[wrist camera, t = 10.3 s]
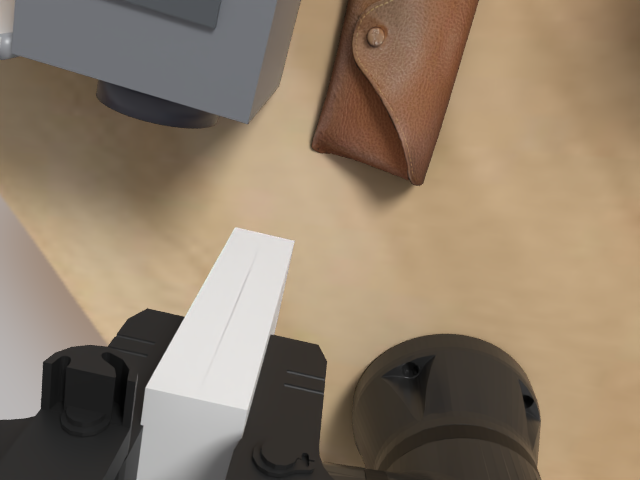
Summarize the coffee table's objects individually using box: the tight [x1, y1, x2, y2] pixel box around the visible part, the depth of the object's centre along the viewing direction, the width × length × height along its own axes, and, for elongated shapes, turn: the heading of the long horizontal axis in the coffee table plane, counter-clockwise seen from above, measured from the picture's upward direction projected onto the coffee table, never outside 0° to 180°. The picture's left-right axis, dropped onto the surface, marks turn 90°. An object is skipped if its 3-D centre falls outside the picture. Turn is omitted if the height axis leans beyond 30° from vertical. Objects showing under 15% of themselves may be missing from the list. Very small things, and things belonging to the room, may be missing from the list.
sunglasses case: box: [311, 0, 479, 186], centre depth 38 cm, size 18×7×7 cm
